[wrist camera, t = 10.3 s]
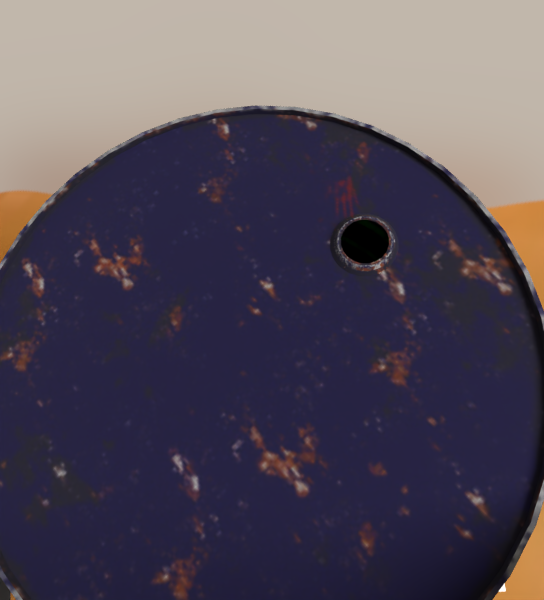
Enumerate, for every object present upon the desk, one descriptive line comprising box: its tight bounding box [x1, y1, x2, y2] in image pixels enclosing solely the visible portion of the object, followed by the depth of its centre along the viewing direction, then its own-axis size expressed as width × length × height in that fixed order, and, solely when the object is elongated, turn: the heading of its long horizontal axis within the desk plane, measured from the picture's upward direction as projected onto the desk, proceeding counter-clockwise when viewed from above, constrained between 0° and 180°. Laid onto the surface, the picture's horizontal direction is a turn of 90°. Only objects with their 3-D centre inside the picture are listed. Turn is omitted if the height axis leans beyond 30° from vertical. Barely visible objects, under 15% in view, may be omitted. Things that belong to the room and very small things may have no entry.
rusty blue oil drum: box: [0, 106, 544, 600], centre depth 14 cm, size 10×10×15 cm
